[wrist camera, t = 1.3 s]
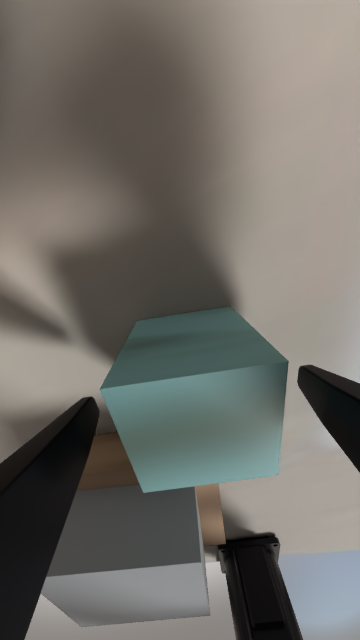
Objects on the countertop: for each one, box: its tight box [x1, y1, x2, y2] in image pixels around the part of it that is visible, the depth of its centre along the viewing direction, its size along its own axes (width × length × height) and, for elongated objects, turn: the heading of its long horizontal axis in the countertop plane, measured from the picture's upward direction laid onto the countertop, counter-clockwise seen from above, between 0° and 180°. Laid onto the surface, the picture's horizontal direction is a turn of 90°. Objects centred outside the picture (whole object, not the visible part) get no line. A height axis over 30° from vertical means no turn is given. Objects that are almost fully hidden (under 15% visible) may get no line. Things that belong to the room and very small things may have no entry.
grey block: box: [41, 485, 210, 627], centre depth 11 cm, size 8×8×3 cm
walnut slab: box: [77, 432, 226, 547], centre depth 13 cm, size 11×11×3 cm
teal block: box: [100, 306, 288, 493], centre depth 8 cm, size 5×5×5 cm
